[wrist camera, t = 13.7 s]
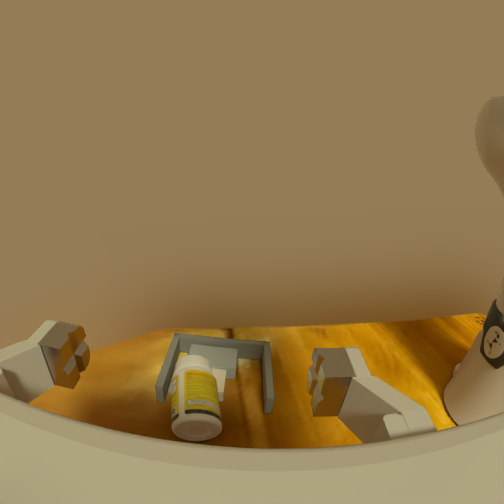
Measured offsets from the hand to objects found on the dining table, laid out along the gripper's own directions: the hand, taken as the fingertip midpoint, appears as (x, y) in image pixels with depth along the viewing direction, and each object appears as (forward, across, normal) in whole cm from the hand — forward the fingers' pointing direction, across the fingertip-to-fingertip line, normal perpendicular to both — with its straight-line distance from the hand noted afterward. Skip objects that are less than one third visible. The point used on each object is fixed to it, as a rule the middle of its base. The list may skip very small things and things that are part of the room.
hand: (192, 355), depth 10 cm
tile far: (+23, +2, +21) cm, 31 cm away
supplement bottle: (+10, +2, +18) cm, 20 cm away
